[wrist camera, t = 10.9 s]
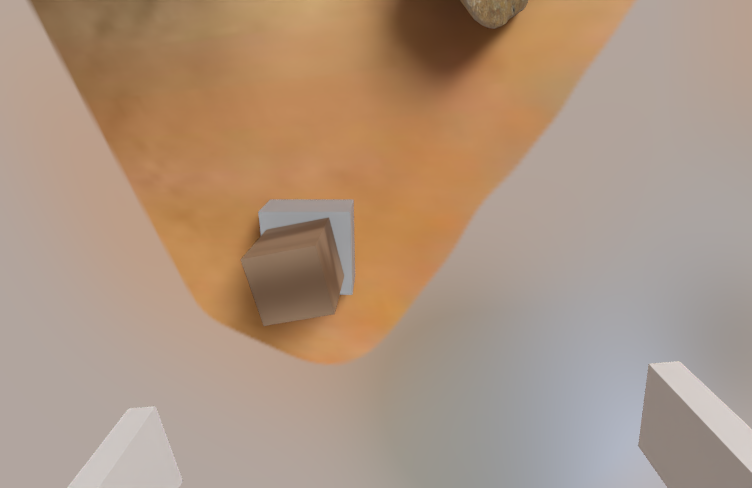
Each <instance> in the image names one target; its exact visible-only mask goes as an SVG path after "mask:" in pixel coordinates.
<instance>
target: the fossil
mask: <svg viewBox="0 0 752 488" xmlns="http://www.w3.org/2000/svg"><path fill="white" fill-rule="evenodd" d="M460 2H461V3H462V4H463V5H464V6H465V8H466V9H467V11H468V12H469V14H470V15H471V16H472V17H473V19H474V20H475V21H477V22H478V23H479V24H481V25H483V26H484V27H487V28H498V27H501V26H502V25H504V24H506V23H507V21H508V20H509V19H510V18H512V17H514V16H515V15H516V14H517V13H519V12H520V11H522V10H523V9H524V8H525V7H526V5H527V3H528V0H460Z"/></svg>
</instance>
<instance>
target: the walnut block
mask: <svg viewBox="0 0 752 488" xmlns="http://www.w3.org/2000/svg"><path fill="white" fill-rule="evenodd" d="M241 262H242V265H243V268H244V271H245V274H246V277H247V279H248V282H249V285H250V288H251V291H252V294H253V297H254V300H255V303H256V305H257V308H258V311H259V314H260V317H261V320H262V323H263V326H267V325H273V324H279V323H285V322H291V321H297V320H303V319H309V318H315V317H321V316H327V315H333V314H335V311H336V307H337V303H338V299H339V295H340V291H341V287H342V283H343V280H344V273H343V269H342V265H341V261H340V257H339V254H338V250H337V246H336V242H335V238H334V234H333V230H332V227H331V223H330V219H329V217H328V218H323V219H318V220H313V221H308V222H302V223H297V224H292V225H287V226H282V227H277V228H271V229H267V230H266V231H265V232H264V233H263V234H262V235H261V236H260V238H259V239H258V240H257V241H256V242H255V243H254V245H253V246H252V247H251V248H250V249H249V250H248V252H247V253H246V254H245V255H244V256H243V257H242V259H241Z"/></svg>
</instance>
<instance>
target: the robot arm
mask: <svg viewBox="0 0 752 488" xmlns="http://www.w3.org/2000/svg"><path fill="white" fill-rule="evenodd" d="M638 446H639V448H640V449H641V451H642V452H643V453H644V455H645V456H646V458H647V459H648V460H649V462H650V463H651V465H652V466H653V468H654V469H655V471H656V472H657V473H658V475H659V476H660V477H661V479H662V480H663V482H664V483H665V485H666V486H667V488H752V429H751V428H750V427H749V426H748V425H747V424H746V423H745V422H744V421H742V420H741V419H740V418H739V417H738V416H737V415H736V414H735V413H734V412H733V411H732V410H731V409H730V408H729V407H728V406H726V405H725V404H724V403H723V402H722V401H721V400H720V399H719V398H718V397H717V396H716V395H715V394H714V393H713V392H712V391H711V390H709V389H708V388H707V387H706V386H705V385H704V384H703V383H702V382H701V381H700V380H699V379H698V378H697V377H696V376H695V375H693V374H692V373H691V372H690V371H689V370H688V369H687V368H686V367H685V366H684V365H683V364H682V363H681V362H680V361H676V362H665V363H653V364H649V366H648V374H647V382H646V389H645V398H644V406H643V413H642V421H641V429H640V436H639V444H638ZM182 481H183V480H182V477H181V474H180V471H179V469H178V466H177V464H176V461H175V458H174V455H173V453H172V450H171V447H170V444H169V442H168V439H167V436H166V434H165V431H164V428H163V425H162V422H161V420H160V417H159V414H158V412H157V409H156V407H155V406H153V407H141V408H129V409H128V410H127V411H126V412H125V414H124V415H123V416H122V418H121V419H120V420H119V421H118V423H117V424H116V425H115V427H114V428H113V429H112V431H111V432H110V433H109V434H108V436H107V437H106V438H105V440H104V441H103V442H102V443H101V445H100V446H99V447H98V449H97V450H96V451H95V452H94V454H93V455H92V456H91V458H90V459H89V460H88V462H87V463H86V464H85V465H84V467H83V468H82V469H81V470H80V472H79V473H78V474H77V476H76V477H75V478H74V480H73V481H72V482H71V483H70V485H69V486H68V487H67V488H180V485H181V483H182Z"/></svg>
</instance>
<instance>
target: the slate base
mask: <svg viewBox="0 0 752 488" xmlns="http://www.w3.org/2000/svg"><path fill="white" fill-rule="evenodd" d="M258 213H259V222H260V232H261V235H262V234H263V233H264V232H265V231H266V230H267V229H271V228H277V227H282V226H287V225H292V224H297V223H302V222H308V221H313V220H318V219H323V218H328V217H329V219H330V223H331V227H332V230H333V234H334V238H335V242H336V246H337V250H338V254H339V257H340V261H341V265H342V269H343V273H344V280H343V283H342V287H341V291H340V295H352V294H353V287H354V280H355V246H354V201H353V200H269V201H268V202H267V203H266V205H265V206H264V207H263V208H262V209H261V210H260V211H259V212H258Z"/></svg>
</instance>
